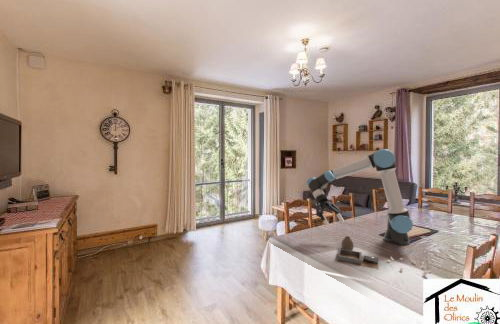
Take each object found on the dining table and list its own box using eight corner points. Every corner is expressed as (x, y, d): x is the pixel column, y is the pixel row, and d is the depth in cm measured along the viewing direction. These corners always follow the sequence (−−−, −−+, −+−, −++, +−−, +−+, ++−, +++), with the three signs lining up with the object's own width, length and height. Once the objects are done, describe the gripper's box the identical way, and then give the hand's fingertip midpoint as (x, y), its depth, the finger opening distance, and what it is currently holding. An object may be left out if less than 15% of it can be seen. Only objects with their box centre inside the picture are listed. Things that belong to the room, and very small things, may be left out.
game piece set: (440, 277, 119) (441, 269, 119) (402, 278, 117) (402, 270, 117) (411, 260, 138) (411, 253, 138) (377, 260, 137) (378, 254, 137)
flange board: (377, 260, 136) (377, 258, 136) (378, 271, 124) (378, 269, 124) (339, 253, 145) (339, 252, 145) (337, 263, 132) (337, 261, 132)
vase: (339, 248, 153) (339, 235, 152) (349, 248, 153) (350, 234, 153) (344, 253, 146) (344, 238, 146) (355, 253, 146) (355, 238, 146)
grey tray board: (377, 259, 136) (377, 254, 135) (378, 268, 125) (378, 262, 125) (339, 252, 144) (339, 247, 144) (337, 260, 133) (337, 255, 133)
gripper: (330, 198, 179) (346, 224, 166) (303, 201, 169) (317, 228, 156) (336, 192, 174) (352, 218, 161) (308, 194, 164) (323, 222, 151)
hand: (335, 223), depth 158 cm, fingers open, 13 cm apart
